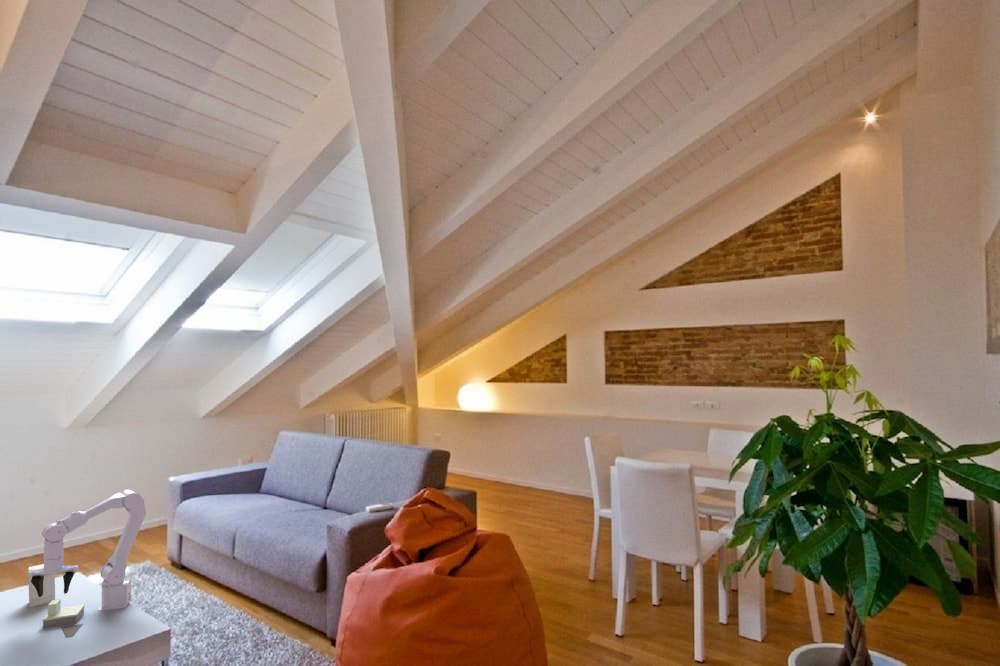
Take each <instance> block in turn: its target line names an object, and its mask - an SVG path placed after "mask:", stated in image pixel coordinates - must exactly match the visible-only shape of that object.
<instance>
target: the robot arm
mask: <svg viewBox="0 0 1000 666" xmlns="http://www.w3.org/2000/svg"><path fill="white" fill-rule="evenodd" d="M145 506H146V505H145V499H144V498H143V496H142V495H141V494H140V493H138V492H135V491H134V490H133V489H131V488H130V489H124V490H122V491H120V492H117V493H115V494H113V495H112V496H110V497H109V498H106V499H105V500H103V501H101V502H99V503H98V504H96V505H94V506H91V508H88V509H87V510H85V511H83V510H82V511H81V510H78V511H73V512H71V513H70V515H67V516H66V517H64V518H63V519H58V520H56V522H52V523H49V524H47V525H46V526H45V527H44V528H43V530H42V531H41V535H42V537H44V539H43V544H44V545H43V564H44V569H40V570H35V571H30V572H29V573H28V572H27V579H28V578H32V580H31V583H32V584H33V585H34V587H35V588H36V590H37V593H38V597H41V596H42V595H43V581H44V576H46V575H54V574H55V575H60V574H63V575H62V578H63V595H65V594H68V592H69V588H70V585H71V582H72V579H73V577H74V575H75V573H77V572H78V571H79V565H76V564H75V565H64V555H65V554H64V538H65V536H66V535H68V534H70V533H72V532H73V531H76V530H78V529H79V528H81V527H83V526H85V525H87V523H88V522H89V520H90V519H92V518H94V517H97V516H98V515H100V514H102V513H104V512H106V511H109V510H111V509H123V508H125V510H126V512H127V513H128V515H129V516H128V518H127V522H126V523H125V526H124V529H123V530H122V533H121V535H120V537H119V540H118V542H117V545H116V547H115V549H114V552H113V554H112V556H110V557H109V558H108V560H107V562H106V564H105V565H103V567H102V568H101V570H100V577H101V578H102V579H103V580H102V583H101V605H100V607H99V608H98V609H97V611H98V612H102V611H107V610H115V609H116V610H117V609H122V608H123V609H125V608H127V607H128V605H129V604H130V602H131V601H132V582H131V580H125V578H126V569H127V565H128V563H127V562H128V561H127V560H128V557H129V555H130V552H131V550H132V548H133V545H134V543H135V541H136V538H137V536H138V534H139V531H140V529H141V527H142V524H143V523H144V519H145V517H146V514H147V510H146V507H145ZM128 603H129V604H128Z"/></svg>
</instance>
